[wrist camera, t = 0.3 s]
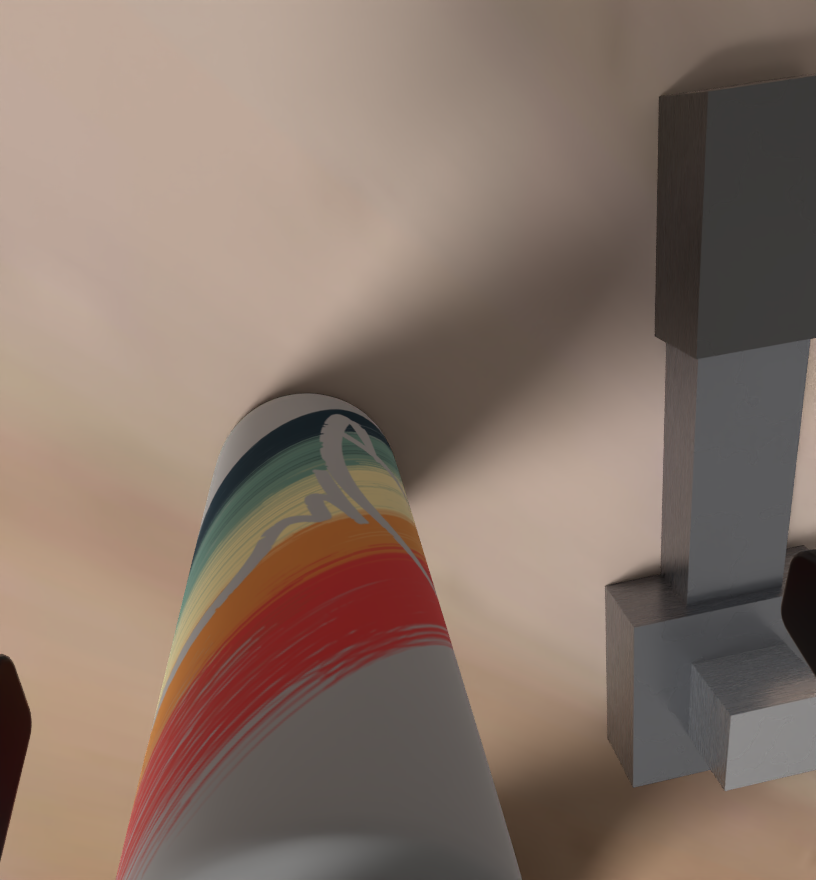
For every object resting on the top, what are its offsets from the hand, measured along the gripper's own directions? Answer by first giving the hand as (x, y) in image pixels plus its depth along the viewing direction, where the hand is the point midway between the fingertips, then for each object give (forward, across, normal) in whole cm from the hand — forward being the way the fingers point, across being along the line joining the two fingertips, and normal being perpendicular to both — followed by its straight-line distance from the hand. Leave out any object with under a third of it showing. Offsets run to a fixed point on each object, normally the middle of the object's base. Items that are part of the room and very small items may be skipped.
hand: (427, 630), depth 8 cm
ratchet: (+14, -13, +6) cm, 20 cm away
